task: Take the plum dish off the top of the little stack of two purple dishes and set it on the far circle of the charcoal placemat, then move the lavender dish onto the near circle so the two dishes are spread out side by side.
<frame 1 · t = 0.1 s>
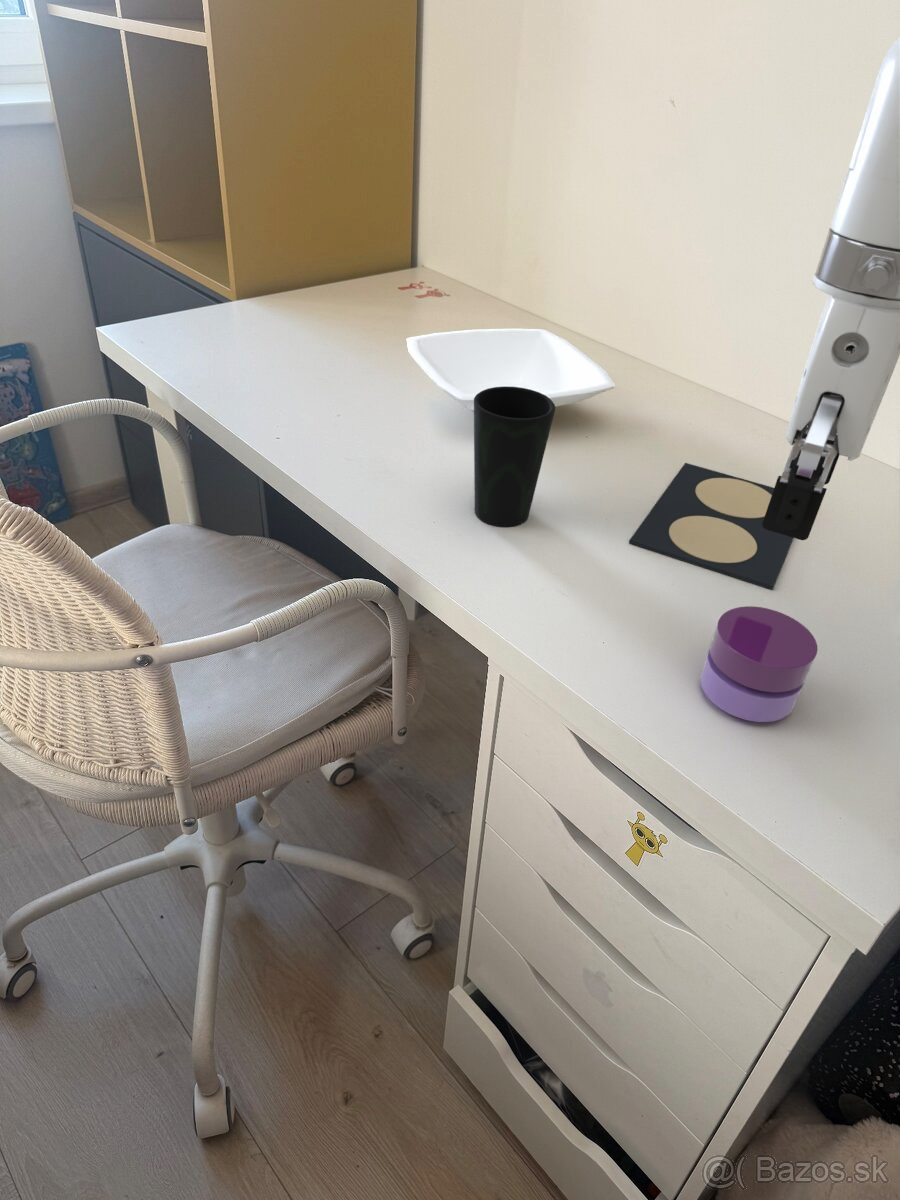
hand: (796, 504, 62), 13 cm above the table, tool pointing down, fingers open, 9 cm apart
cup: (501, 514, 85), on the table
placemat: (723, 520, 86), on the table
lavender dish: (744, 694, 65), on the table, touching plum dish
bowl: (502, 404, 107), on the table
plum dish: (755, 665, 63), point 3 cm above the table, touching lavender dish
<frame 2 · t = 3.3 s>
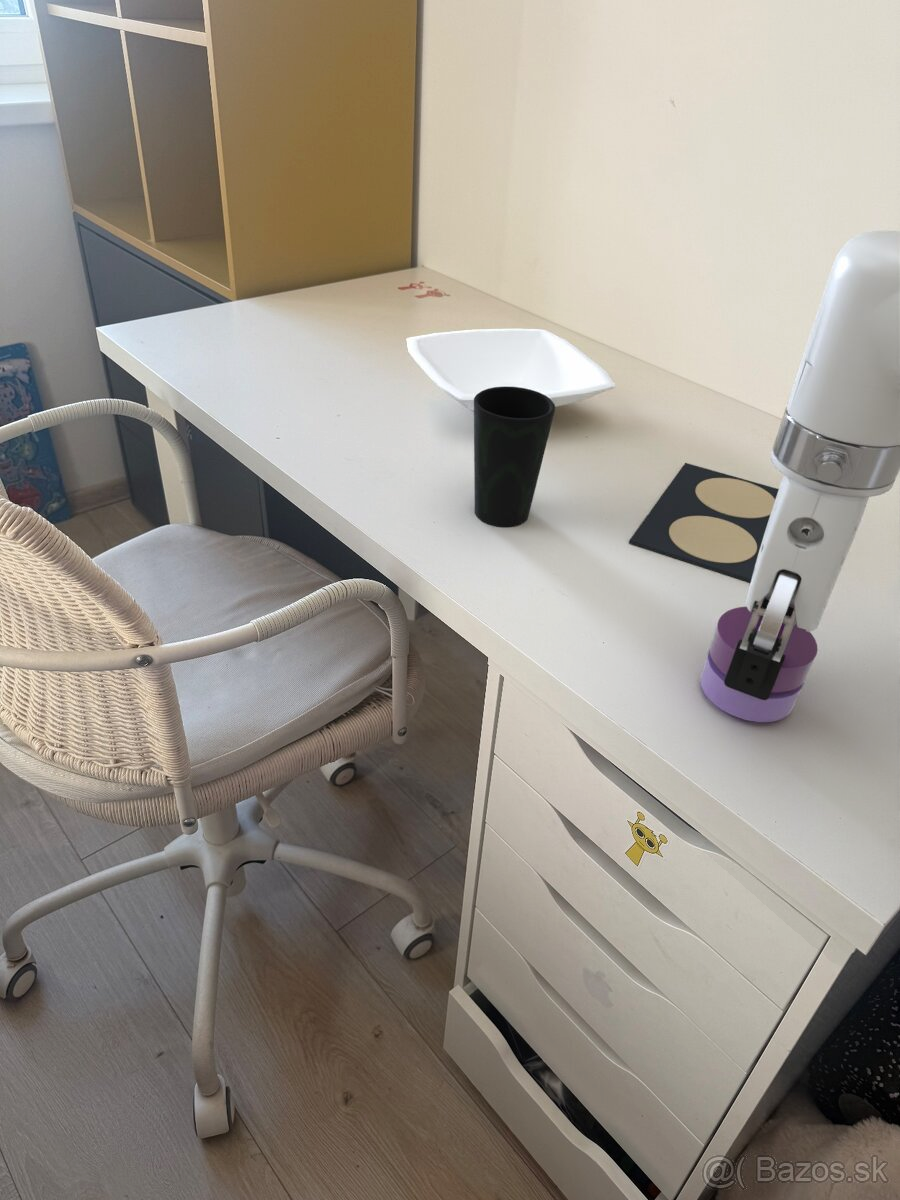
hand: (757, 659, 63), 4 cm above the table, tool pointing down, fingers closed on plum dish, 7 cm apart
plum dish: (755, 666, 63), point 3 cm above the table, touching gripper, lavender dish
everything else where it was.
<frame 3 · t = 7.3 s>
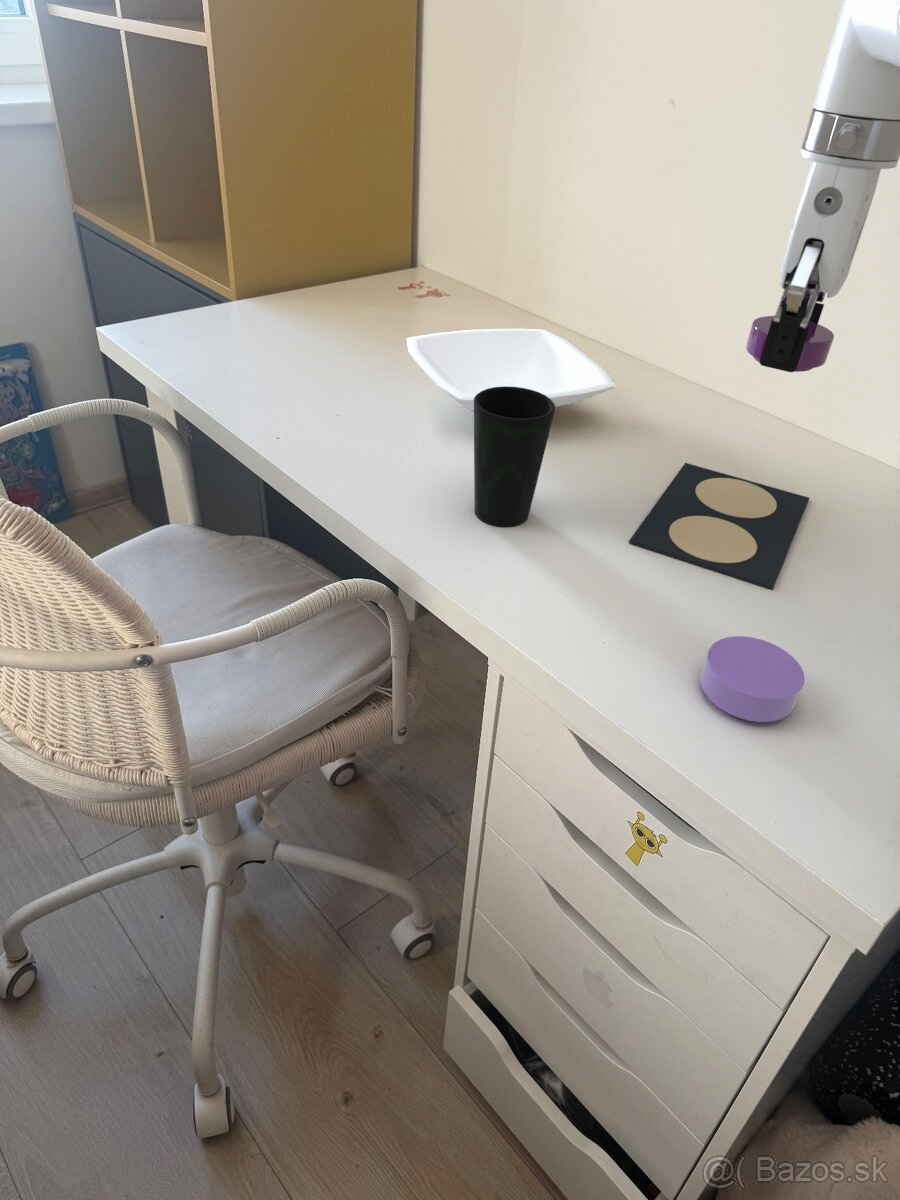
hand: (785, 353, 77), 17 cm above the table, tool pointing down, fingers closed on plum dish, 7 cm apart
lavender dish: (744, 694, 65), on the table
plum dish: (783, 360, 77), point 17 cm above the table, touching gripper
everything else where it was.
when the fingers open (1 cm above the table, at t = 11.5 s): plum dish stays where it is, resting on placemat.
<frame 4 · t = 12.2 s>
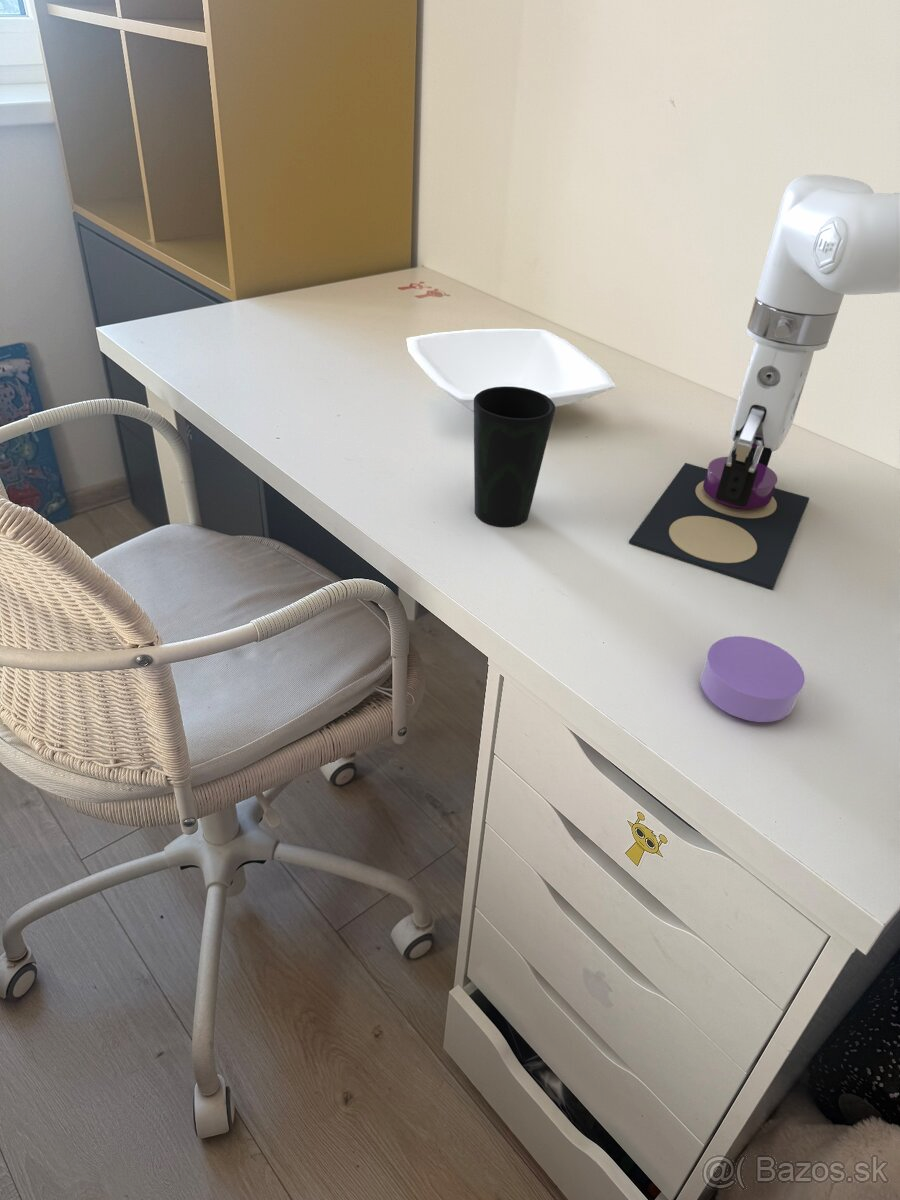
hand: (741, 483, 88), 2 cm above the table, tool pointing down, fingers open, 9 cm apart
plum dish: (735, 496, 90), resting on placemat
everything else where it was.
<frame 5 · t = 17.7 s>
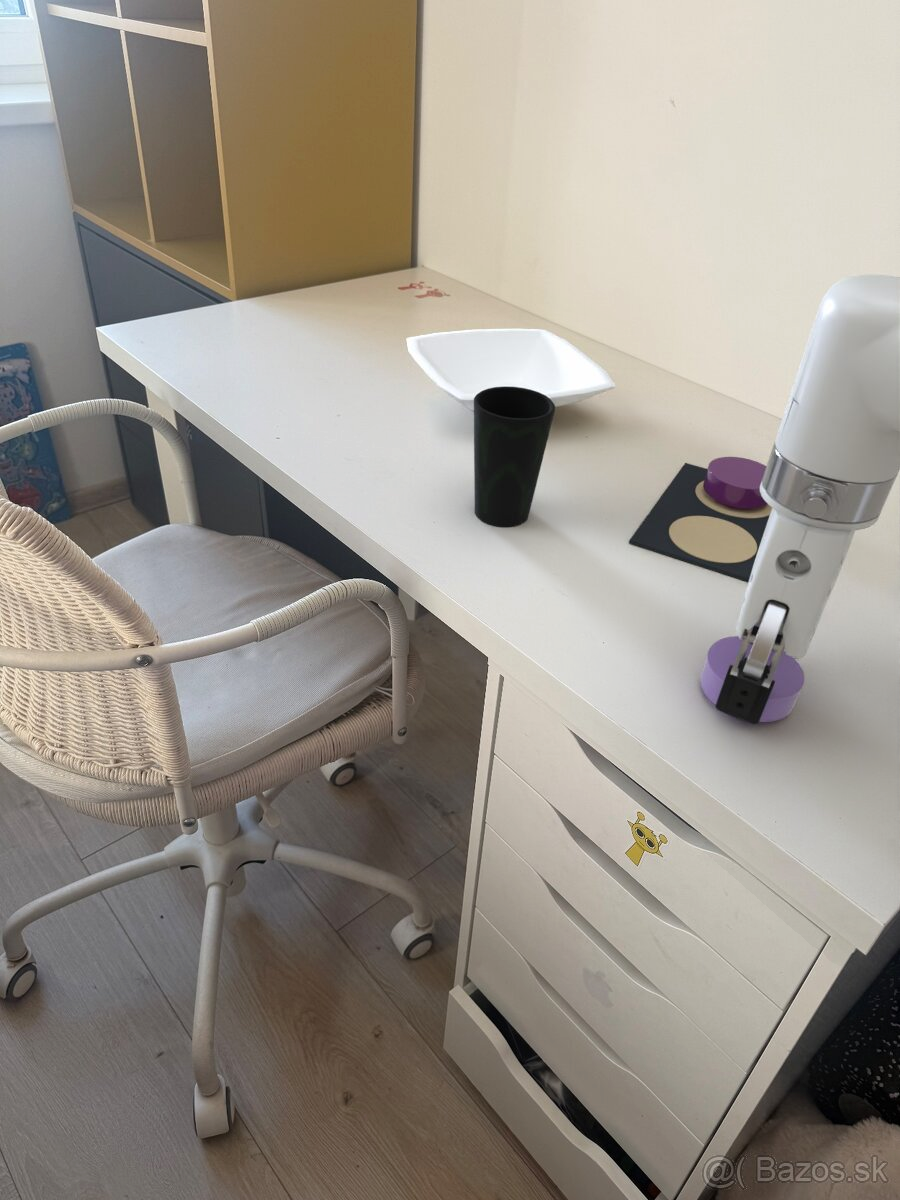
hand: (748, 682, 64), 1 cm above the table, tool pointing down, fingers closed on lavender dish, 7 cm apart
lavender dish: (744, 694, 65), on the table, touching gripper
everything else where it was.
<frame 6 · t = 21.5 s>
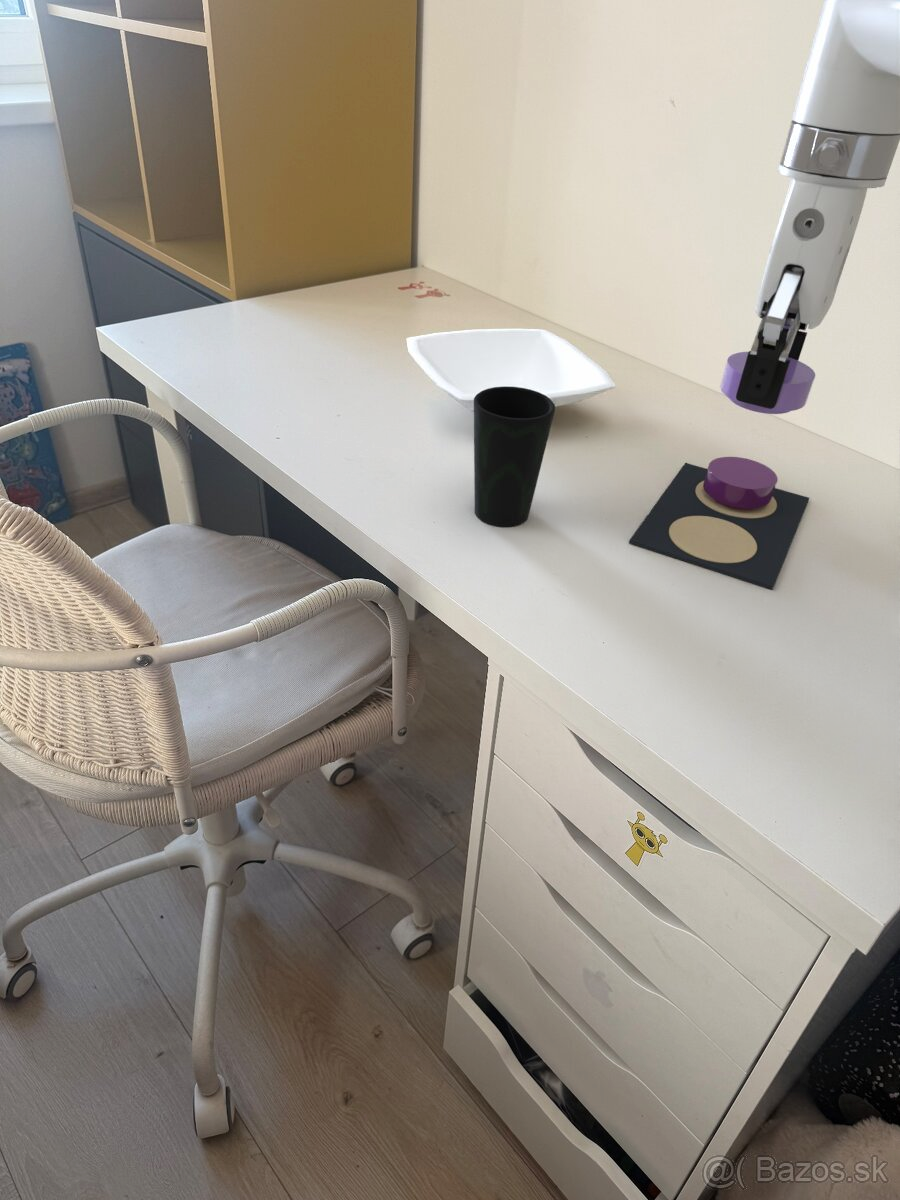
hand: (765, 386, 71), 17 cm above the table, tool pointing down, fingers closed on lavender dish, 7 cm apart
lavender dish: (760, 400, 71), point 16 cm above the table, touching gripper
everything else where it was.
when the fingers open (2 cm above the table, at t = 25.5 s): lavender dish stays where it is, resting on placemat.
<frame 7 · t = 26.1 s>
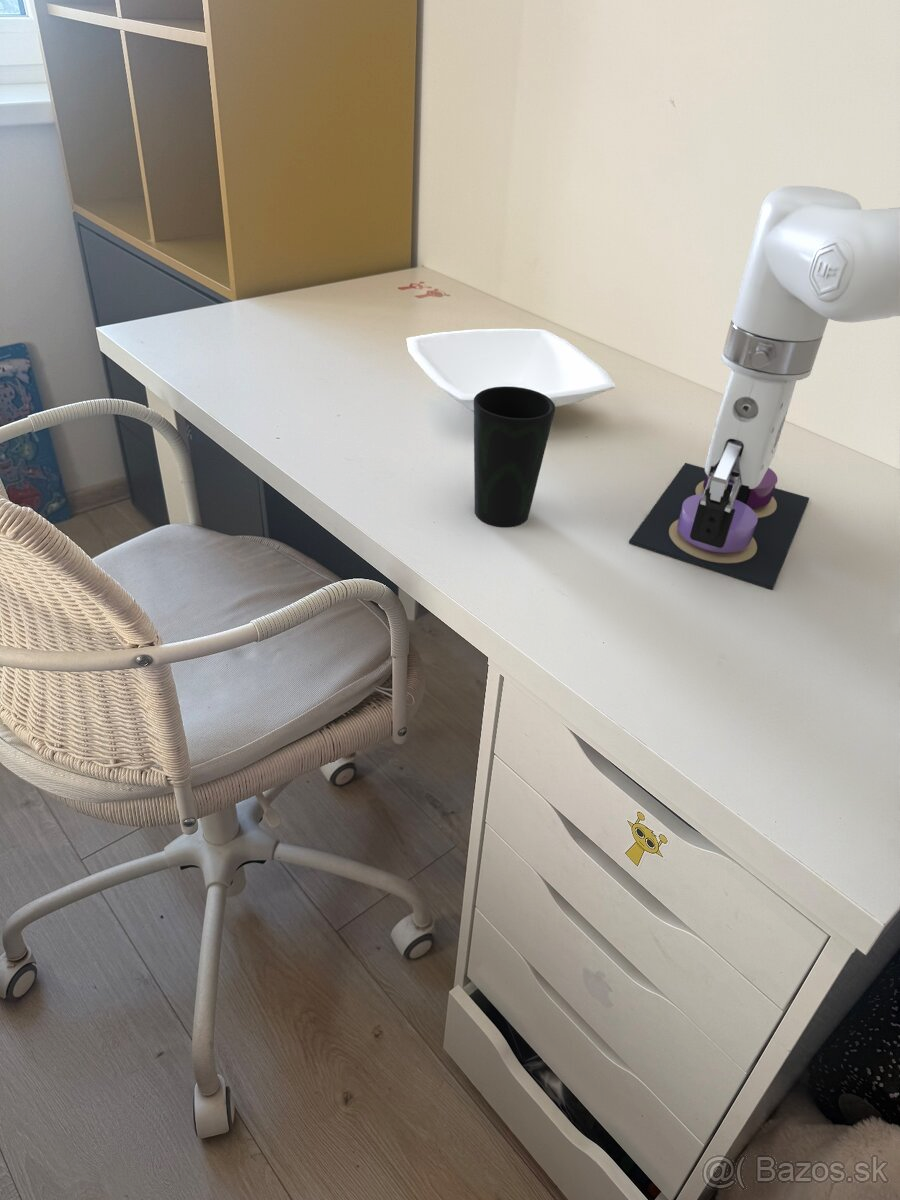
hand: (719, 520, 81), 3 cm above the table, tool pointing down, fingers open, 9 cm apart
lavender dish: (712, 537, 82), resting on placemat
everything else where it was.
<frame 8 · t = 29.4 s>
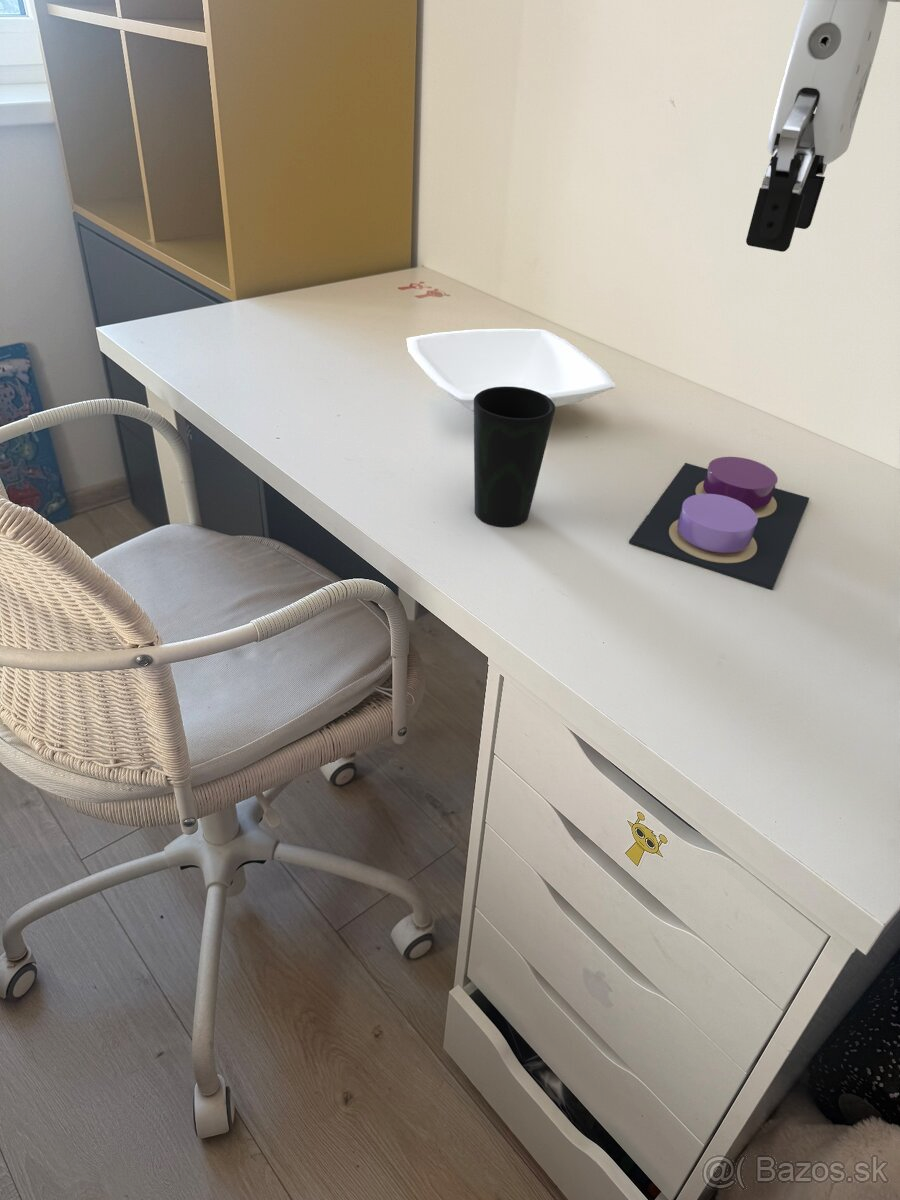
hand: (778, 236, 67), 28 cm above the table, tool pointing down, fingers open, 9 cm apart
nothing on the table moved.
at the end: plum dish 0.1 cm from the target spot on the placemat, point 0.5 cm above the placemat's base; lavender dish 0.1 cm from the target spot on the placemat, point 0.5 cm above the placemat's base; plum dish tilted 0° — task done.
